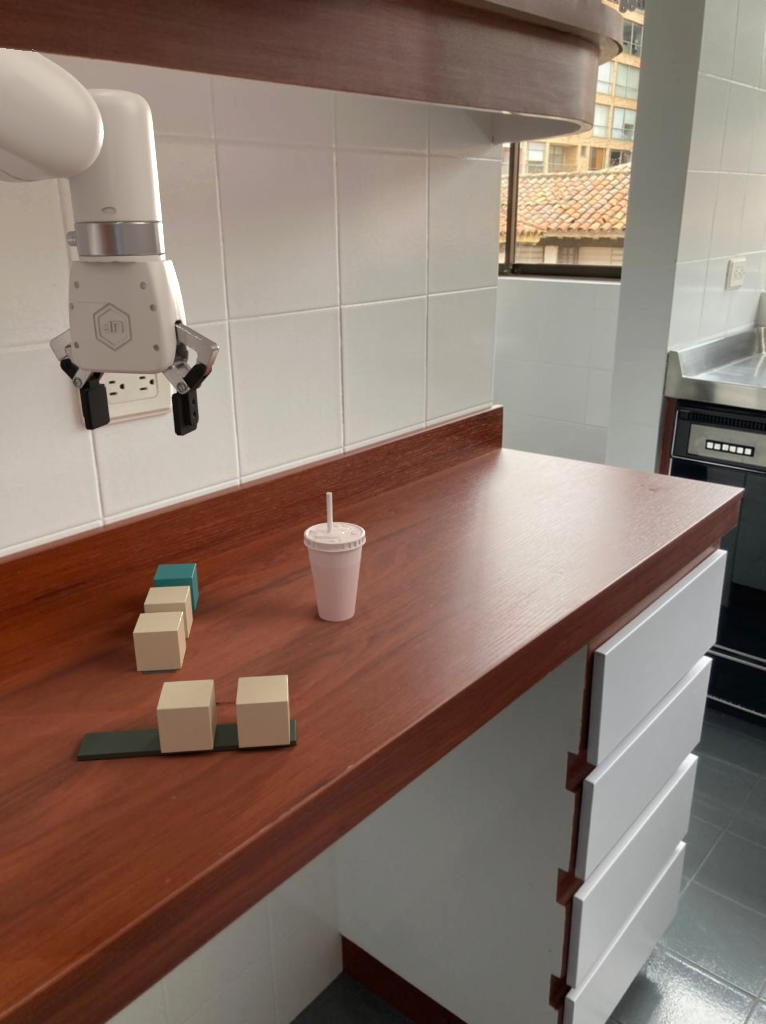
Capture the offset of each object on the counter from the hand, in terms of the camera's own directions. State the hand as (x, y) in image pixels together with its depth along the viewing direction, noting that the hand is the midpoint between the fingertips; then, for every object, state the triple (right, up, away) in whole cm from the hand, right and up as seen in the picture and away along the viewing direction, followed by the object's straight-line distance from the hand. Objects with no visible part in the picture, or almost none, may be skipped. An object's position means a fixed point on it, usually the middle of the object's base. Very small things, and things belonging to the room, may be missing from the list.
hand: (141, 429), depth 79 cm
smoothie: (+18, -19, +8) cm, 28 cm away
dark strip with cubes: (+8, -27, -13) cm, 31 cm away
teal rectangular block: (+1, -18, +10) cm, 21 cm away
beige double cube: (+2, -21, +4) cm, 21 cm away
